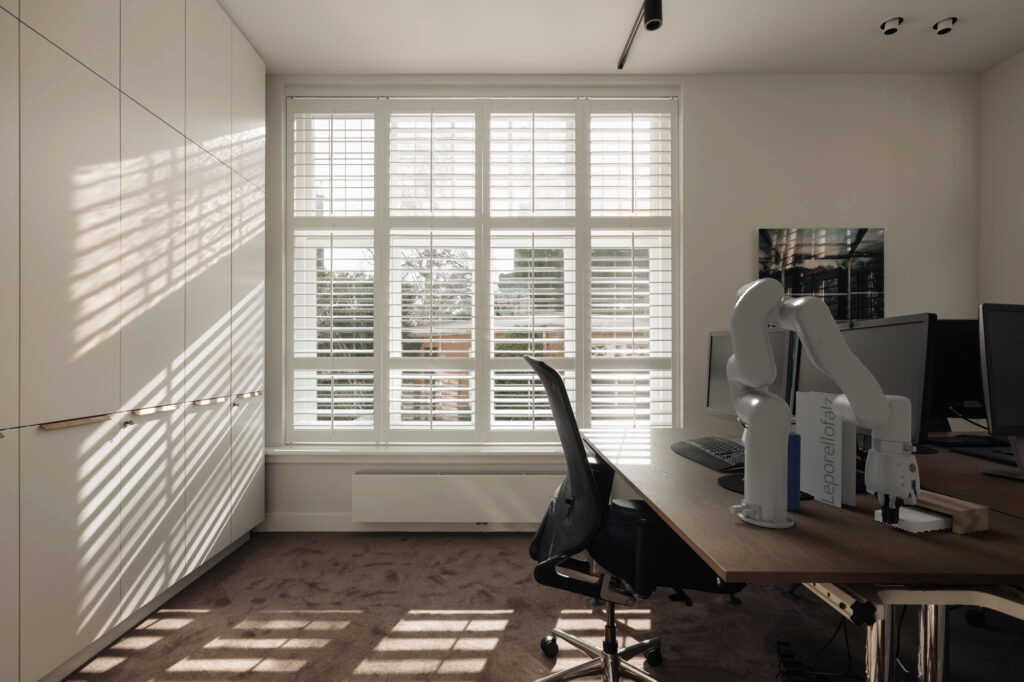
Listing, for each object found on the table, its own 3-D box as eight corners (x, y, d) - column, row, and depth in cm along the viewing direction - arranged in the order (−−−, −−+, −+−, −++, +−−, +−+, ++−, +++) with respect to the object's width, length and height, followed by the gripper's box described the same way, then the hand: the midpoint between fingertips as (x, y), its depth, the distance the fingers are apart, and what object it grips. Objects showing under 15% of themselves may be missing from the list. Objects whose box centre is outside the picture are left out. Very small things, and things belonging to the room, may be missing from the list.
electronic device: (802, 509, 129) (803, 434, 129) (784, 510, 128) (785, 434, 128) (777, 498, 138) (777, 428, 139) (760, 499, 138) (761, 428, 138)
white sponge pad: (914, 533, 114) (914, 523, 114) (874, 520, 122) (874, 510, 122) (953, 527, 118) (953, 517, 118) (913, 514, 126) (913, 505, 126)
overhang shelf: (960, 534, 113) (960, 511, 113) (887, 511, 128) (887, 491, 128) (988, 529, 117) (988, 506, 117) (914, 508, 132) (914, 487, 132)
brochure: (794, 492, 144) (795, 391, 145) (808, 491, 146) (810, 391, 146) (840, 508, 131) (841, 396, 131) (855, 506, 133) (856, 396, 133)
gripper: (936, 452, 111) (936, 532, 111) (870, 440, 125) (869, 511, 125) (914, 454, 109) (913, 536, 109) (849, 441, 123) (848, 514, 123)
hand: (890, 522), depth 117 cm, fingers closed
